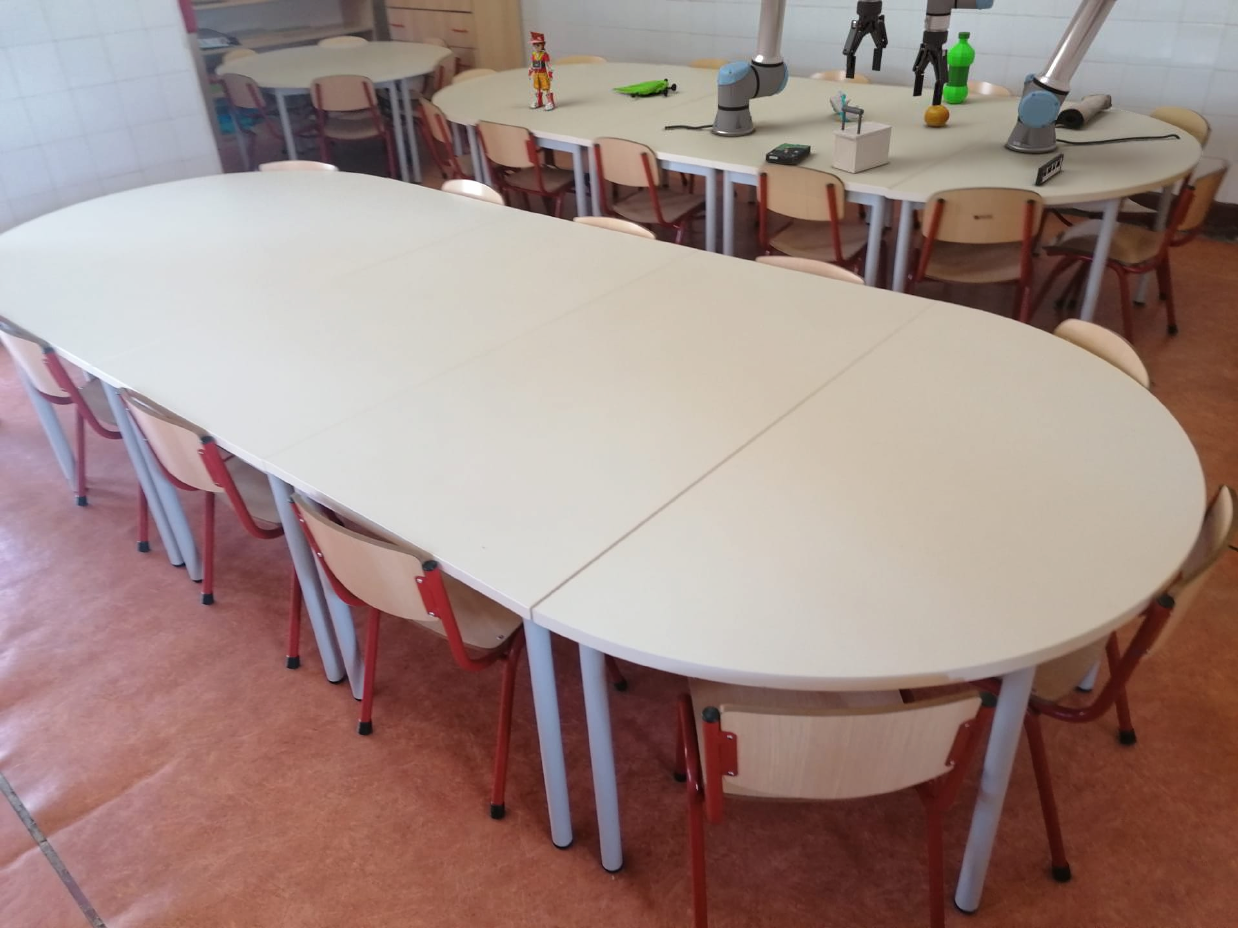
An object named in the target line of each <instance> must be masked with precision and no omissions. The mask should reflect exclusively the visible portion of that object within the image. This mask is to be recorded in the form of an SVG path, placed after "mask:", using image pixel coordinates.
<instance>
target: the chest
mask: <svg viewBox="0 0 1238 928" xmlns="http://www.w3.org/2000/svg"><path fill="white" fill-rule="evenodd" d="M834 135H835V136H834V148H833V149H834V150H833V158H832V159H833V160H832V168H835V169H839V170H841V171H846V172H849V173H852V174H856V173H860V172H863V171H865V170H869V169H873V168H875V167H879V166H882V165H885V164H888V162H889V152H890V143H891V137H892V136H891V135H892V129H891V130H888V131H884V132H881V133H877V134H874V135H870V136H866V137H863V138H859V139H856V140H855V139H851V138H847V137H844V136H840V135H836V134H834Z"/></svg>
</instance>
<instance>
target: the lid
mask: <svg viewBox="0 0 1238 928" xmlns="http://www.w3.org/2000/svg"><path fill="white" fill-rule="evenodd" d="M842 111H843V116H842V118H841V127H840V128H839V129H836V130H833V135H840V136H844V137H847V138H851V139H855V140H856V139H859V138H863V137H866V136H870V135H874V134H877V133H881V132H884V131H888V130H891V131H892V129H893V128H892V127H893V126H892V125H887V124H883V123H878V122H875V121H870V120H869V121H865V122H862V120H863V118H862V116H863V115H864V113H865V110H864V109H863V108H860V107H858V108H855V107H854V106H850V105H847V106H846V105H843V106H842ZM846 112H848V113H853V114H857V115H859V119H857V120H858V121H857V124H855V125H854V124H853V125H850V126H847V127H845V126H846V121H845V116H846Z"/></svg>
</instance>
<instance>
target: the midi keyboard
mask: <svg viewBox="0 0 1238 928" xmlns="http://www.w3.org/2000/svg"><path fill="white" fill-rule="evenodd" d="M1064 157H1065V153H1059V154H1058V155H1056V156H1055V157H1052V159H1051V160H1049V161H1047V162H1045V164H1042V165H1041V166H1039V167H1038V169H1037V175H1036V179H1035V186H1040V185H1042V183H1044V182H1045V181H1047V180H1048V179H1049V178H1051V177H1052V176H1054V175H1055V174H1056V173H1058V172H1060V171H1061V170H1062V165H1063V161H1064Z"/></svg>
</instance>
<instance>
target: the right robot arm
mask: <svg viewBox="0 0 1238 928" xmlns="http://www.w3.org/2000/svg"><path fill="white" fill-rule="evenodd" d="M1117 1H1118V0H1081V2H1080V4H1079V6H1078V7H1077V9H1076V11H1075V13H1074V14H1073V17H1072V18H1071V20H1070V22H1069V24H1068V25H1067V27H1066V29H1065V31H1064V32H1063V34H1062V36H1061V38H1060V40H1059V42H1058V43H1057V45H1056V47H1055V48H1054V51H1053V52H1052V54H1051V56H1050V57H1049V60H1048V61H1047V63H1046V64H1045V67H1044V68H1043V70H1042V71H1040V72H1038V73H1029V74H1027V75H1026V76H1025V79H1024V82H1023V89H1022V93H1021V98H1020V102H1019V103H1018V107H1017V120H1016V123H1015V126H1014V127H1013V128H1012V131H1011V132H1010V135H1009V136H1008V138H1007V141H1006V148H1007V149H1009V150H1011V151H1015V152H1018V153H1024V154H1045V153H1049V152H1053V151H1054V150H1056V148H1057V142H1058V143H1064V144H1066V145H1067V144H1068V145H1093V144H1105V143H1112V142H1122V141H1133V140H1134V141H1135V140H1161V139H1168V138H1172V137H1174V138H1176V139H1177V140H1181V137H1180V136H1179V135H1178V134H1175V133H1171V134H1167V135H1155V136H1153V135H1152V136H1148V135H1147V136H1132V137H1119V138H1111V139H1103V140H1093V141H1091V140H1090V141H1070V140H1065V139H1060V138H1057V134H1056V126H1055V120H1056V119H1057V117H1058V115H1059V114H1060V112H1061V107H1062V106H1063V104H1064V102H1065V101H1066V98H1067V97H1068V96H1069V94H1070V92H1071V90H1072V88H1071V84H1070V82H1071V81H1072V78H1073V77H1074V75H1075V74H1076V72H1077V70H1078V68H1079V66H1080V65H1081V63H1082V61H1083V59H1084V58H1085V57H1086V54H1087V52H1088V51H1089V49H1090V47H1091V45H1092V44H1093V42H1094V41H1095V39H1096V37H1097V36H1098V33H1099V32H1100V30H1101V28H1102V27H1103V25H1104V23H1105V22H1106V20H1107V19H1108V16H1109V15H1110V13H1111V11H1112V9H1113V8H1114V6H1115V4H1116V3H1117ZM994 4H995V0H927V1H926V11H925V18H924V20H923V22H924V26H923V28H924V30H923V32H922V39H921V40H922V41H921V43H920V45H919V48H918V49H919V50H918V53H917V55H916V57H915V62H914V64H913V66H912V69H911V71H912V72H914V75H915V76H914V82H913V83H914V84H913V90H912V91H913V92H912V97H914V98H915V97H922V94H923V87H924V79H925V73H926V72H925V70H926V69H927V67H928V66H929V64H931V66H932V67H933V72H934V77H935V82H934V86H933V87H934V88H933V95H932V102H931V106H936V105H942V99H943V89H944V87H945V85H946V84H947V83H948V82H949V77H948V70H949V64H948V63H947V54H948V52H949V50H948V49H947V48H945V49H943V45H944V44H947V43H948V38H949V37H948V36H949V30H948V29H949V28H950V25H951V18H952V17H951V16H952V10H979V11H981V10H990V9H991V8H993V6H994Z"/></svg>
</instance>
